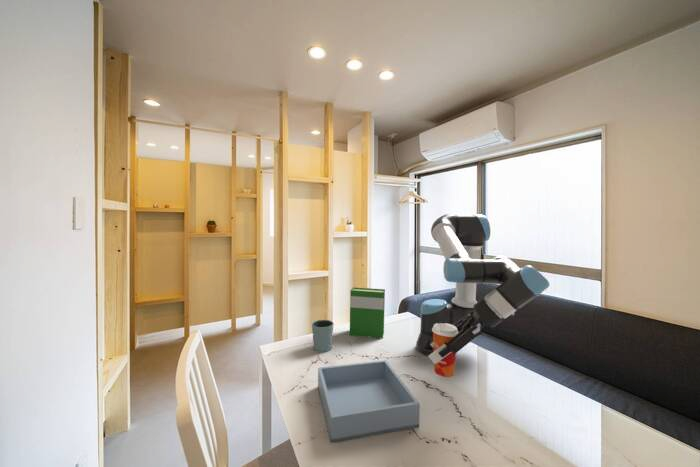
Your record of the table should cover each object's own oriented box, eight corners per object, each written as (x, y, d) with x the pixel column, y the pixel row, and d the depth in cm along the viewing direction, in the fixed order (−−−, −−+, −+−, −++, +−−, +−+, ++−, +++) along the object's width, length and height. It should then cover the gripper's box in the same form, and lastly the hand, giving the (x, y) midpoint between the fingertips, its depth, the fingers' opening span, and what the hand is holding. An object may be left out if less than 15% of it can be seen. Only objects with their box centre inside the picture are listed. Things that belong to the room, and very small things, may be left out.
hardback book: (383, 332, 148) (384, 289, 148) (382, 338, 141) (384, 292, 140) (352, 330, 152) (352, 287, 151) (349, 335, 144) (350, 290, 144)
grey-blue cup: (337, 347, 130) (337, 322, 129) (324, 355, 121) (324, 329, 121) (320, 342, 135) (320, 318, 135) (306, 349, 127) (307, 324, 126)
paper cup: (427, 365, 86) (428, 322, 86) (450, 364, 87) (451, 321, 86) (436, 380, 78) (438, 332, 78) (462, 379, 79) (464, 332, 78)
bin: (385, 378, 104) (386, 360, 104) (419, 427, 79) (419, 403, 79) (318, 386, 98) (318, 367, 97) (330, 443, 73) (331, 417, 72)
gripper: (510, 332, 67) (440, 382, 73) (497, 308, 86) (442, 349, 92) (487, 308, 69) (420, 358, 75) (480, 290, 88) (426, 331, 94)
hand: (432, 353), depth 84 cm, fingers closed on paper cup, 8 cm apart
